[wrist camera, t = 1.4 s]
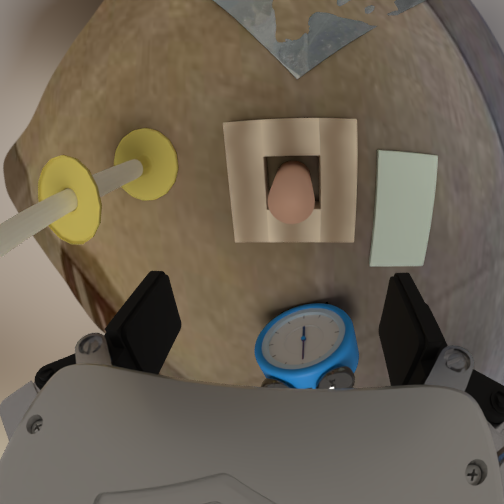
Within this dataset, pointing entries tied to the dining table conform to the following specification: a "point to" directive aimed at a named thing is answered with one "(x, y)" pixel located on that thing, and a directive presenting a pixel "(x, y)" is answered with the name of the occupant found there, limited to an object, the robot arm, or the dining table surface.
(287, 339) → the alarm clock
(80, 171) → the candle
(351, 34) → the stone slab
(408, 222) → the mat
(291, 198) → the peg
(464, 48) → the dining table surface
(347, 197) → the pocket frame
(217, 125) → the dining table surface
